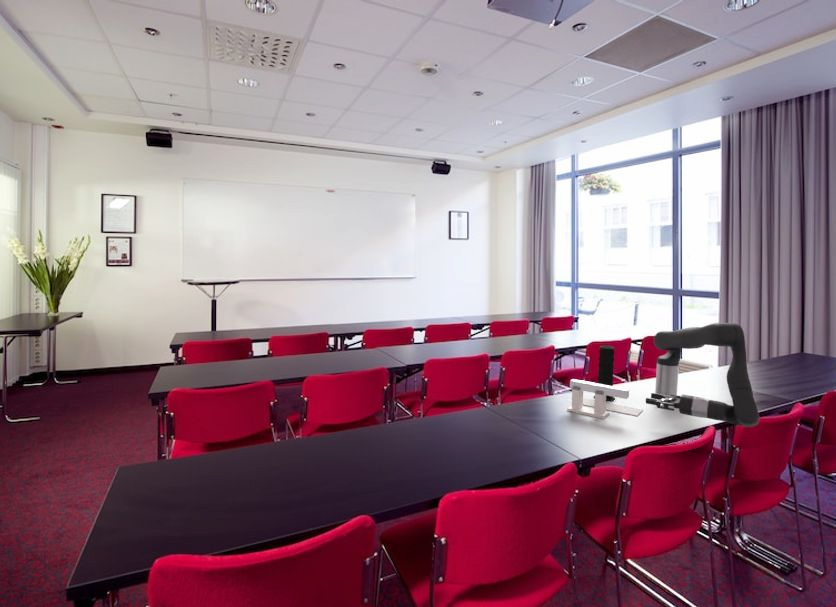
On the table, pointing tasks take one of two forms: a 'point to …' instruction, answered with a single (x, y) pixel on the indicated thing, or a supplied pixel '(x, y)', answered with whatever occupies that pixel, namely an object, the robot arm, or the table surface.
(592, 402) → the mat
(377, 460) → the table surface
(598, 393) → the rack
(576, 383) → the rail
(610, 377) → the handle grip
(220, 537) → the table surface
